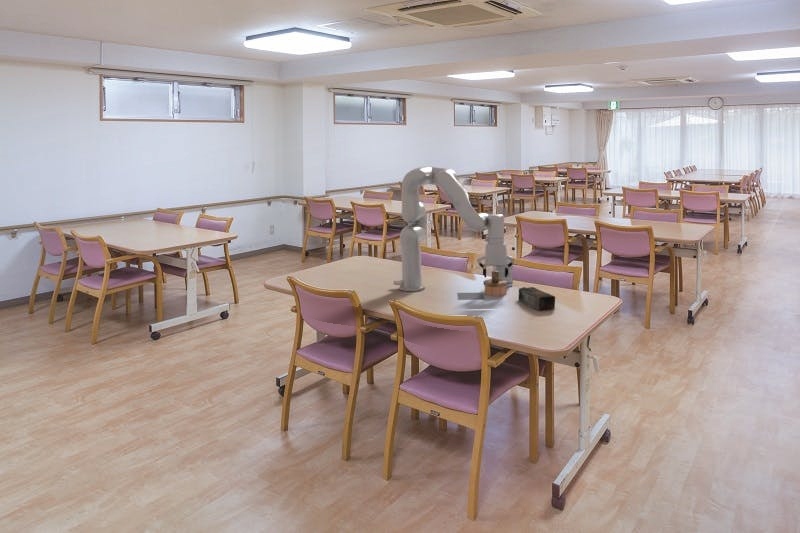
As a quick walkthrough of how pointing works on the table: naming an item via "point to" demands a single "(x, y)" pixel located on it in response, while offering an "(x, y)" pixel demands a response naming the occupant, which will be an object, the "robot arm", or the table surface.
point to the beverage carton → (536, 298)
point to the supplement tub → (502, 273)
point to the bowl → (495, 290)
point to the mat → (470, 296)
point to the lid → (495, 280)
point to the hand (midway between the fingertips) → (495, 276)
